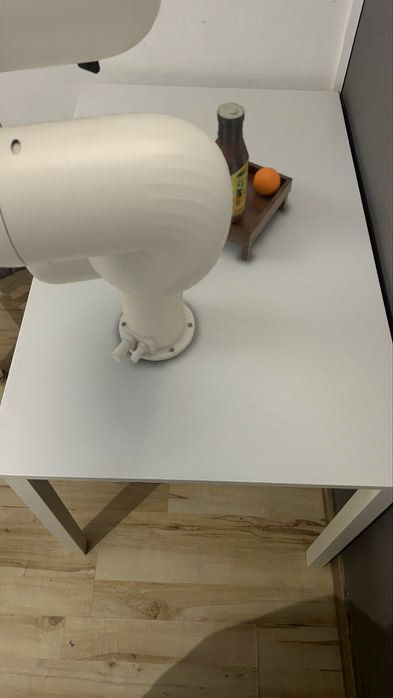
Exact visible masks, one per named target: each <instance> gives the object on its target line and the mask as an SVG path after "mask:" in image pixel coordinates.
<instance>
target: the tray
mask: <svg viewBox="0 0 393 698" xmlns="http://www.w3.org/2000/svg"><path fill="white" fill-rule="evenodd" d="M262 168H265V167H264V166H262V165H260V164H257V163H255V162H252V161H250V160H249V163H248V177H247V189H246V202H245V209H244V213H243V216H242V217H241V218H240V219H239V220H238V221H236V222H234V223H231V224H230V228H229V232H228V236H227V240H231V241H233V242H235V243H238V244H239V245H241V256H240V259H241V260H243V261H246V262H247V261H249V259H250V258H251V249H252V244H253V243H254V241H255V240H256V239H257V237H258V236H259V234H260V233H261V232H262V230H263V229H264V227H265V226H266V225H267V223H269V221H270V220H271V218H272V217H273V215H274V214H276V211H277V210H280V211H282V212H284V211H285V210H286V209H287V205H288V200H289V194H290V192H291V190H292V185H293V179H294V178H292V177H290V176H287V175H285V174H283V173H280V172H278V174H279V176H280V186H279V188H278V189H277V191H276V192H275V193H273V194H271V195H261V194H260V193H258V192H257V191H256V189H255V187H254V184H253V180H254V176H255V174H256V173H257V172H258V171H259V170H260V169H262Z"/></svg>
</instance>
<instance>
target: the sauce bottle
mask: <svg viewBox="0 0 393 698" xmlns="http://www.w3.org/2000/svg"><path fill="white" fill-rule="evenodd" d="M245 111H246V110H245V108H244V106H243V105H241V104H240V103H237V102H231V101H230V102H225V103H221V105H219V106H218V108H217V110H216V113H217V114H216V118H217V119H216V120H217V138H216V139H215V140H214V141H215V143H216V144H217V145H218V146H219V148H220V150H221V151H222V153H223V156H224V158H225V160H226V163H227V165H228V169H229V173H230V177H231V183H232V193H233V208H232V217H231V223H234V222H236V221H238V220H239V219H240V218H241V217H242V216H243V213H244V209H245V202H246V189H247V177H248V163H249V161H250V154H249V151H248V147H247V145H246V143H245V139H244V132H243V129H244V121H245V118H246V117H245V116H246V115H245Z"/></svg>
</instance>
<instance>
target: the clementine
mask: <svg viewBox="0 0 393 698" xmlns="http://www.w3.org/2000/svg"><path fill="white" fill-rule="evenodd" d="M278 173H279V172H278V171H277V170H276V169H274V168H273V167H267V166H266V167H265V168H262V169H260V170H259V171H258V172H257V173H256V174H255V176H254V180H253V184H254V187H255V189H256V191H257V192H258V193H260V194H261V195H271V194H273V193H275V192H276V191H277V189H278V188H279V186H280V176H279V174H278Z"/></svg>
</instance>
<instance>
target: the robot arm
mask: <svg viewBox="0 0 393 698" xmlns="http://www.w3.org/2000/svg"><path fill="white" fill-rule="evenodd" d="M161 3H162V0H0V73H9V72H17V71H26V70H34V69H41V68H42V69H43V68H50V67H51V68H52V67H58V66H59V67H60V66H67V65H68V66H69V65H76V64H77V66H78V68H79V69H81V70H84V71H87V72H90V73H93V74H95V75H98V73H100V72H101V65H100V61H103V60H107V59H111V58H113V57H116V56H120V55H122V54H124V53H126V52H128V51H129V50H131V49H133V48H135V47H136V46H137V45H139V44H140V43H141V42H142V41H143V40H144V38H146V36H147V35H148V34H149V33H150V31H151V30H152V28H153V26H154V24H155V22H156V20H157V17H158V15H159V13H160V8H161V5H162V4H161ZM232 208H233V193H232V183H231V177H230V173H229V169H228V165H227V163H226V160H225V158H224V156H223V153H222V151H221V150H220V148H219V146H218V145H217V144H216V143H215V140H214V138H213V137H212V136H210V134H209V133H207V132H206V131H205V130H204V129H202V128H201V127H199V126H198V125H196V124H193V123H192V122H190V121H187V120H186V119H183V118H181V117H178V116H174V115H169V114H164V113H158V112H157V113H155V112H146V111H143V112H142V111H140V112H139V111H138V112H133V111H131V112H129V111H128V112H119V113H118V112H117V113H110V114H99V115H92V116H81V117H80V116H79V117H71V118H64V119H57V120H48V121H40V122H39V121H38V122H32V123H24V124H15V125H7V126H0V268H6V269H7V268H8V269H9V268H21V267H22V268H23V267H26V269H27V270H28V272H29V273H30V274H31V275H32V276H33V277H34V278H35V279H36V280H38V281H39V282H41V283H45V284H49V285H64V284H72V283H74V284H75V283H80V282H88V281H94V280H101V279H103V280H104V281H106V283H108V284H109V285H110V286H112V287H114V288H116V289H117V290H116V291H117V294H118V299H119V302H120V305H121V309H122V312H123V313H122V315H121V317H120V319H119V324H118V332H119V337H120V339H121V342H120V343H119V345H117V346H116V348H115V349H114V350H113V351H112V353H111V354H110V357H111V358H112V359H113V360H114V361H116V362H118V363H122V361H123V360H124V358H125V357H126V356H127V355H128V352H129V353H130V354H131V355H130V356H129V359H130V360H131V361H132V362H133V363H134V364H135V363H136V364H137V363H138V362H139V360H140V359H142V360H146V361H152V362H153V361H154V362H155V361H165V360H169V359H171V358H174V357H176V356H178V355H179V354H181V353H182V352H183V351H185V350H186V349H187V348H188V346H189V345H190V344H191V342H192V340H193V338H194V336H195V331H196V323H195V322H196V321H195V316H194V314H193V312H192V310H191V309H190V307H189V306H188V305H187V304H186V303H185V302H184V301H185V300H184V292H185V291H187V290H190V288H193V287H194V286H196V285H197V284H199V283H200V282H201V281H203V279H205V278H206V277H207V276H208V274H209V273H210V272H211V271H212V270H213V268H214V267H215V266H216V264H217V262H218V260H219V258H220V257H221V254H222V253H223V251H224V248H225V245H226V242H227V240H228V238H227V236H228V232H229V228H230V224H231V217H232Z"/></svg>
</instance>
